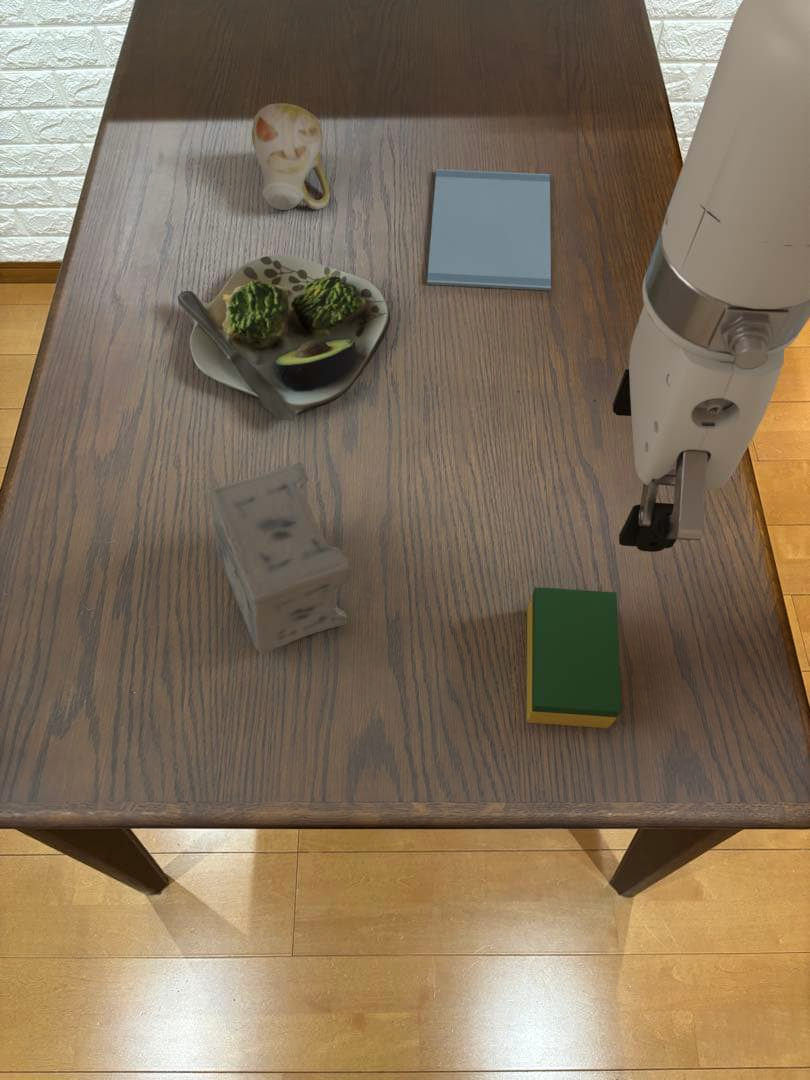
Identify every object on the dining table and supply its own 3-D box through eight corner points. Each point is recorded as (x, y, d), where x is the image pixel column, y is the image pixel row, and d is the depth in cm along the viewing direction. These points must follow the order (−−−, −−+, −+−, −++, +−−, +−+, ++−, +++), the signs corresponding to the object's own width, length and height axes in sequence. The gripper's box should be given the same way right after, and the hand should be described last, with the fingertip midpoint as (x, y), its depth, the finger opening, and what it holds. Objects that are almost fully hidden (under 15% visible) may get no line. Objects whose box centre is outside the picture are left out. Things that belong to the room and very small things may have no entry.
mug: (251, 225, 84) (222, 118, 79) (282, 201, 92) (258, 102, 87) (319, 216, 82) (294, 105, 77) (345, 192, 90) (324, 90, 84)
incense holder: (361, 619, 65) (352, 562, 55) (261, 662, 63) (235, 611, 54) (313, 519, 69) (298, 450, 59) (218, 557, 67) (188, 493, 58)
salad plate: (135, 368, 76) (119, 334, 72) (237, 241, 83) (228, 204, 79) (318, 446, 72) (313, 415, 68) (409, 306, 79) (409, 270, 75)
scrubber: (527, 609, 65) (534, 586, 61) (603, 614, 65) (616, 591, 61) (526, 722, 61) (534, 705, 57) (608, 728, 61) (622, 712, 57)
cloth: (549, 177, 87) (550, 173, 87) (550, 291, 80) (550, 287, 80) (436, 172, 88) (436, 168, 87) (426, 284, 80) (427, 281, 80)
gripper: (850, 441, 33) (712, 604, 48) (791, 150, 41) (688, 370, 56) (662, 430, 33) (583, 595, 49) (639, 144, 41) (578, 364, 56)
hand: (639, 474), depth 52 cm, fingers open, 9 cm apart
